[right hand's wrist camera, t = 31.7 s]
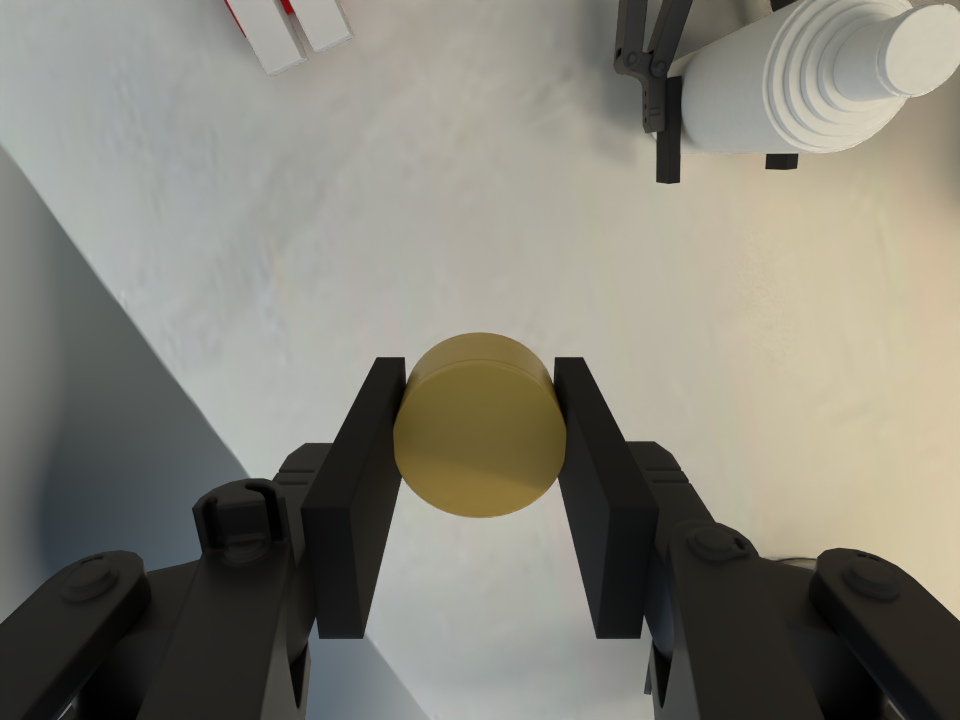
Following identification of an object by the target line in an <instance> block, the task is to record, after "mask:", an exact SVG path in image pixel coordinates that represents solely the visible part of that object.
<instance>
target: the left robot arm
mask: <svg viewBox="0 0 960 720" xmlns="http://www.w3.org/2000/svg"><path fill="white" fill-rule="evenodd" d="M692 1H693V0H663V3H662V6H661V9H660V12H659V15H658V18H657V21H656V25H655V28H654V31H653V34H652V37H651V40H650V43H649V46H648V49H647V53H644V52H642V50H643V40H644V31H645V21H646V12H647V2H648V0H619V10H618V21H617V32H616V44H615V55H614V69H615V71H616V72H617V73H618V74H621V75H623V74H626V75H629V76H633V77H636V78H638V79H639V81H640V82H641V83H642V88H643V128H644V130H645V133H652V132H657V161H656V182H659V183H666V184H672V183H680V150H681V98H682V75H681V76H674V77H669V78H667V73H668V71H669V69H670V66H671V63H672V60H673V57H674V54H675V51H676V48H677V45H678V43H679V40H680V37H681V34H682V31H683V28H684V25H685V22H686V19H687V16H688V13H689V10H690V7H691V4H692ZM796 1H798V0H770V2H771V6H772V10H773V12H775V11H777V10H779V9H781V8H784V7H786V6H788V5H790V4H792V3H794V2H796ZM797 162H798V153H788V154H766V168H765V169H777V170H789V169H797Z"/></svg>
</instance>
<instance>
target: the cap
mask: <svg viewBox="0 0 960 720" xmlns="http://www.w3.org/2000/svg"><path fill="white" fill-rule="evenodd" d="M566 432H567V429H566V424H565V421H564V417H563V414H562V411H561V408H560V405H559V402H558V398H557V395H556V392H555V389H554V386H553V383H552V380H551V377H550V375H549V373H548V371H547V369H546V368H545V366H544V364H543V363H542V362H541V360H540V359H539V358H538V357H537V356H536V355H535V354H534V353H533V352H532V351H531V350H530V349H528V348H527V347H525V346H524V345H522V344H521V343H519V342H517V341H515V340H513V339H511V338H508V337H505V336H502V335H497V334H492V333H468V334H462V335H458V336H455V337H452V338H449V339H447V340H445V341H442V342H441V343H439V344H437V345H436V346H434V347H433V348H431V349H430V350H429V351H428V352H427V353H425V354H424V355H423V357H422V358H421V359H420V360H419V361H418V362H417V364H416V365H415V367H414V368H413V370H412V372H411V374H410V376H409V379H408V382H407V385H406V388H405V391H404V394H403V397H402V400H401V403H400V407H399V410H398V413H397V416H396V419H395V422H394V427H393V438H394V453H395V462H396V465H397V467H398V470H399V472H400V474H401V476H402V477H403V479H404V480H405V482H406V483H407V484H408V486H409V487H410V488H411V489H412V490H413V491H414V492H415V493H416V494H417V495H418V496H419V497H420V498H422V499H423V500H424V501H426V502H427V503H429V504H430V505H432V506H434V507H436V508H438V509H440V510H442V511H445V512H447V513H451V514H454V515H458V516H463V517H471V518H490V517H497V516H502V515H506V514H509V513H512V512H515V511H517V510H520V509H522V508H524V507H526V506H528V505H529V504H531V503H532V502H534V501H535V500H537V499H538V498H539V497H540V496H542V495H543V494H544V493H545V492H546V491H547V490H548V489H549V488H550V486H551V485H552V484H553V483H554V481H555V480H556V478H557V477H558V475H559V473H560V471H561V469H562V467H563V464H564V461H565V448H566Z"/></svg>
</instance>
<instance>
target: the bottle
mask: <svg viewBox="0 0 960 720" xmlns="http://www.w3.org/2000/svg"><path fill="white" fill-rule="evenodd" d="M959 64H960V12H959V11H958V10H957V9H956V8H955V7H954V6H952V5H949V4H947V3H943V5H941V4H934V5H922V6H917V7H913V6H912V5H911V4H910V2H909V1H908V0H798V1H796V2H794V3H792V4H790V5H788V6H786V7H784V8H781V9H779V10H777V11H775V12H773V13H771V14H769V15H767V16H765V17H763V18H761V19H759V20H757V21H755V22H753V23H751V24H749V25H747V26H745V27H742V28H740V29H738V30H736V31H734V32H732V33H730V34H728V35H726V36H724V37H722V38H720V39H718V40H716V41H714V42H712V43H710V44H708V45H706V46H703V47H701V48H699V49H697V50H695V51H693V52H691V53H689V54H687V55H685V56H683V57H681V58H679V59H677V60H675V61H674V62H672V63H671V66H670V69H669V71H668V73H667V78H669V77H674V76H681V75H682V98H681V150H680V154H788V153H833V152H838V151H842V150H846V149H848V148H851V147H854V146H856V145H858V144H860V143H862V142H864V141H865V140H867V139H868V138H870V137H871V136H873V135H874V134H876V133H877V132H878V131H879V130H880V129H882V128H883V127H884V126H885V125H886V124H887V123H888V122H889V121H890V120H891V119H892V118H893V117H894V116H895V115H896V113H897V112H898V111H899V110H900V108H901V107H902V106H903V104H904V103H905V101H906V100H907V98H912V97H917V96H922V95H924V94H926V93H928V92H931V91H933V90H934V89H936V88H937V87H938V86H940V85H941V84H942V83H944V82H945V81H946V80H947V79H948V78H949V77H950V76H951V75H952V74H953V73H954V71H955V70H956V69H957V67H958V66H959ZM651 134H652V135H653V137H654V138H655V140H656V141H657V132H652V133H651Z"/></svg>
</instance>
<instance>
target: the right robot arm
mask: <svg viewBox="0 0 960 720" xmlns="http://www.w3.org/2000/svg"><path fill="white" fill-rule="evenodd" d="M553 386H554V389H555V392H556V395H557V398H558V402H559V405H560V408H561V411H562V414H563V417H564V421H565V424H566V429H567V432H566V448H565V461H564V464H563V467H562V469H561V471H560V473H559V475H558V480H559V484H560V488H561V493H562V497H563V501H564V505H565V509H566V513H567V517H568V522H569V526H570V530H571V534H572V538H573V542H574V547H575V551H576V555H577V559H578V563H579V567H580V571H581V576H582V580H583V584H584V588H585V592H586V596H587V601H588V605H589V609H590V613H591V617H592V621H593V625H594V630H595V634H596V638H597V639H640V638H641V631H642V624H643V617H644V616H645V619H646V621H647V624H648V627H649V630H650V633H651V635H652V645H651V651H650V657H649V664H648V670H647V676H646V683H645V690H644V694H649V695H651V691H652V694H653V704H654V714H655V720H960V621H959V620H958V619H957V618H956V617H955V616H954V615H953V614H952V613H950V612H949V611H948V610H947V609H946V608H945V607H944V606H943V605H942V604H941V603H940V602H939V601H938V600H937V599H936V598H934V597H933V596H932V595H931V594H930V593H929V592H928V591H927V590H926V589H925V588H924V587H923V586H922V585H921V584H919V583H918V582H917V581H916V580H915V579H914V578H913V577H911V576H910V575H909V574H907V573H906V572H905V571H903V570H902V569H901V568H899V567H898V566H897V565H895V564H893V563H891V562H889V561H886V560H884V559H882V558H880V557H878V556H876V555H873V554H870V553H866V552H863V551H860V550H855V549H845V548H835V549H830V550H825V551H824V552H823V553H822V554H821V555H819V556H818V557H817V560H810V559H794V560H786V561H781V562H775V561H772V560H768V559H765V558H762V557H759V554H758V552H757V550H756V549H755V548H754V546H753V545H752V543H751V542H750V541H749V540H748V539H747V538H746V537H744V536H743V535H742V534H740V533H739V532H738V531H736V530H734V529H732V528H730V527H728V526H725V525H723V524H721V523H717V522H715V520H714V519H713V517H712V516H711V514H710V513H709V511H708V510H707V508H706V506H705V505H704V503H703V502H702V500H701V499H700V497H699V495H698V494H697V492H696V491H695V489H694V488H693V486H692V485H691V483H689V480H688V478H687V477H686V475H685V474H684V472H683V471H681V467H680V466H679V464H678V463H677V461H676V460H675V458H674V456H673V455H672V454H671V453H670V452H669V451H667V450H666V449H664V448H663V447H662V446H660V445H659V444H657V443H656V442H655V441H625V439H624V437H623V435H622V433H621V431H620V429H619V427H618V425H617V423H616V421H615V420H614V418H613V416H612V414H611V412H610V410H609V408H608V406H607V404H606V402H605V400H604V398H603V396H602V394H601V392H600V390H599V388H598V386H597V384H596V382H595V380H594V378H593V376H592V374H591V372H590V370H589V368H588V366H587V364H586V362H585V360H584V358H583V357H555V365H554V384H553ZM405 388H406V372H405V357H377V358H376V360H375V362H374V364H373V366H372V368H371V370H370V372H369V373H368V375H367V377H366V379H365V381H364V383H363V385H362V387H361V389H360V391H359V393H358V395H357V397H356V399H355V401H354V403H353V405H352V407H351V409H350V411H349V413H348V415H347V417H346V419H345V421H344V423H343V425H342V427H341V429H340V431H339V433H338V435H337V436H336V438H335V440H334V442H333V443H305V444H303V445H302V446H301V447H299V448H298V449H297V450H295V451H294V452H292V453H291V454H290V455H288V456H287V458H286V460H285V461H284V463H283V464H282V466H281V467H280V469H279V473H277V474H276V475H275V477H274V478H273V480H272V481H271V480H268V479H264V478H252V479H243V480H238V481H233V482H229V483H227V484H225V485H222V486H220V487H217V488H215V489H213V490H211V491H210V492H208V493H207V494H205V495H204V496H202V497H201V498H200V499H199V500H198V502H197V503H196V504H195V505H194V507H193V508H192V511H193V515H194V519H195V523H196V527H197V532H198V536H199V540H200V544H201V549H202V555H201V558H200V559H199V560H196V561H192V562H189V563H185V564H181V565H177V566H172V567H168V568H163V569H159V570H154V571H149V572H146V569H145V565H144V562H143V559H141V558H140V557H139V556H138V555H137V554H136V553H134V552H128V551H123V550H118V551H108V552H102V553H99V554H95V555H91V556H88V557H86V558H83V559H81V560H79V561H77V562H75V563H73V564H71V565H69V566H67V567H65V568H63V569H62V570H60V571H59V572H58V573H56V574H55V575H54V576H52V577H51V578H50V579H48V580H47V581H46V582H45V583H44V584H43V585H41V586H40V587H39V588H38V589H37V590H36V591H35V592H34V593H33V594H32V595H31V596H30V597H29V598H28V599H27V600H26V601H25V602H24V603H22V604H21V605H20V606H19V607H18V608H17V609H16V610H15V611H14V612H13V613H12V614H11V615H10V616H9V617H7V618H6V619H5V620H4V621H3V622H2V623H1V624H0V720H57V719H58V718H59V717H60V716H61V714H62V713H63V712H64V710H65V709H66V708H67V707H68V705H69V704H70V703H72V705H71V706H70V708H69V709H68V710H67V711H66V713H65V714H64V715H63V716H62V717H61V718H60V719H59V720H305V716H306V706H307V696H308V685H309V676H310V666H311V659H310V651H309V645H308V637H309V634H310V631H311V629H312V626H313V623H314V620H315V617H316V619H317V626H318V633H319V638H320V639H363V636H364V632H365V628H366V624H367V620H368V616H369V612H370V607H371V603H372V599H373V595H374V591H375V587H376V582H377V578H378V574H379V570H380V566H381V562H382V558H383V553H384V549H385V545H386V541H387V537H388V533H389V529H390V524H391V520H392V516H393V512H394V508H395V504H396V499H397V495H398V491H399V487H400V483H401V479H402V476H401V474H400V472H399V470H398V467H397V465H396V462H395V453H394V438H393V427H394V422H395V419H396V416H397V413H398V410H399V407H400V403H401V400H402V397H403V394H404V391H405Z"/></svg>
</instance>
